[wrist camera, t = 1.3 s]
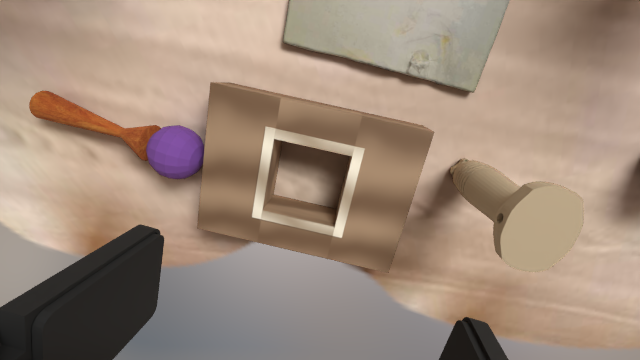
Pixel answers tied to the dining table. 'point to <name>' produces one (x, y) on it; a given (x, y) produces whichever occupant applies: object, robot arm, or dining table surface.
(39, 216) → the dining table surface
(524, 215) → the handle
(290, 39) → the decorative slab
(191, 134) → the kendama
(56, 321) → the robot arm
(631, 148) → the dining table surface
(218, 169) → the brown flat block
